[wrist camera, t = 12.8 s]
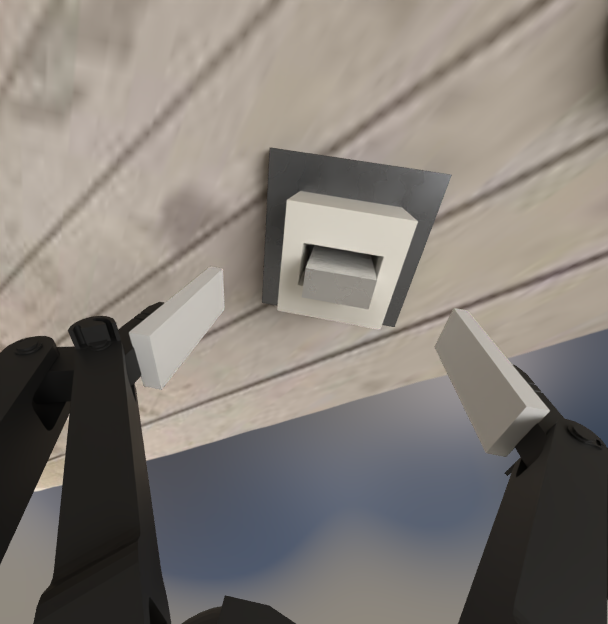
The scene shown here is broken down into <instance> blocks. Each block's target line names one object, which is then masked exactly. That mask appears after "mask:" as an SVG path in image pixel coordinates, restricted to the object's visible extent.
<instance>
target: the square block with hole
mask: <svg viewBox="0 0 608 624" xmlns="http://www.w3.org/2000/svg"><path fill="white" fill-rule="evenodd" d="M417 223H418V221H417V220H416V219H415V218H414V217H412V216H411V215H410V214H409V213H408V212H407V211H406V210H404V209H403V208H402V207H397V206H390V205H384V204H378V203H372V202H366V201H360V200H353V199H347V198H341V197H335V196H329V195H322V194H316V193H310V192H304V191H299V192H298V193H296V194H295V195H293V196H292V197H290V198H289V199H287V205H286V216H285V227H284V239H283V250H282V261H281V272H280V283H279V295H278V306H277V311H282V312H288V313H293V314H298V315H303V316H309V317H314V318H319V319H325V320H330V321H335V322H341V323H346V324H351V325H357V326H362V327H367V328H373V329H378V330H380V329H381V326H382V324H383V321H384V318H385V315H386V312H387V309H388V306H389V303H390V301H391V298H392V295H393V292H394V289H395V286H396V283H397V281H398V278H399V275H400V272H401V269H402V266H403V263H404V260H405V258H406V255H407V252H408V249H409V246H410V243H411V240H412V237H413V235H414V232H415V229H416V226H417ZM310 244H313V245H319V246H325V247H331V248H336V249H342V250H348V251H354V252H360V253H365V254H371V258H372V262H373V266H374V270H375V274H376V278H377V283H376V286H375V290H374V293H373V296H372V300H371V303H370V306H369V309H363V308H358V307H352V306H347V305H341V304H336V303H330V302H325V301H319V300H314V299H308V298H303V297H302V291H303V284H304V277H305V270H306V266H307V263H308V261H307V259H308V252H309V246H310Z"/></svg>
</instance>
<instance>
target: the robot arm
mask: <svg viewBox="0 0 608 624" xmlns="http://www.w3.org/2000/svg"><path fill="white" fill-rule="evenodd" d="M224 309H225V307H224V282H223V268H217V267H212V266H210V267H209V268H207V269H206V270H205V271H204V272H202V273H201V274H200V275H199V276H197V277H196V278H195V279H194V280H193V281H191V282H190V283H189V284H188V285H186V286H185V287H184V288H183V289H181V290H180V291H179V292H178V293H177V294H175V295H174V296H173V297H172V298H170V299H169V300H168V301H167V302H165V303H163V302H158V303H156V304H153V305H151V306H149V307H147V308H146V309H145V310H143V311H142V312H141V314H138V315H137V316H135V317H134V319H131V320H130V321H129V322H128V323H126V324H125V325H124V326H122V327H121V328H120V329H118V328H117V325H116V322H115V320H114V319H113V318H110V317H107V316H95V317H89V318H85V319H82V320H80V321H78V322H76V323H74V324H73V325H72V326H70V328H69V330H68V332H69V335H70V337H71V339H72V341H73V344H74V346H75V347H57V346H56V344H55V342H54V340H53V339H52V338H50V337H47V336H35V337H28V338H24V339H21V340H18V341H17V342H15V343H12V344H10V345H9V346H7V347H6V348H5V349H4V350H3V351H2V352H1V353H0V564H1V561H2V559H3V557H4V555H5V553H6V551H7V548H8V546H9V544H10V541H11V540H12V537H13V535H14V533H15V531H16V529H17V527H18V525H19V522H20V520H21V518H22V516H23V514H24V511H25V509H26V507H27V505H28V503H29V500H30V498H31V496H32V494H33V492H34V490H35V487H36V485H37V483H38V481H39V479H40V477H41V474H42V472H43V470H44V468H45V466H46V463H47V461H48V459H49V457H50V455H51V453H52V450H53V448H54V446H55V444H56V442H57V439H58V437H59V435H60V433H61V431H62V429H63V426H64V424H65V422H66V420H67V418H68V416H69V425H68V435H67V445H66V455H65V465H64V475H63V485H62V495H61V506H60V516H59V526H58V537H57V546H56V556H55V566H54V573H53V579H52V581H51V584H50V586H49V587H48V588H47V589H46V590H45V591H44V593H43V594H42V595H41V597H40V600H39V603H38V605H37V609H36V613H35V618H34V623H33V624H171V619H170V612H169V606H168V600H167V595H166V590H165V587H164V582H163V578H162V572H161V566H160V558H159V552H158V545H157V537H156V530H155V523H154V515H153V509H152V502H151V494H150V487H149V480H148V472H147V465H146V458H145V451H144V443H143V436H142V429H141V422H140V415H139V408H138V400H137V393H136V387H135V384H134V383H135V382H136V381H137V380H138V379H139V378H140V376H141V378H142V382H143V385H144V386H145V387H151V388H156V389H161V390H162V389H163V387H164V386H165V385H166V383H167V382H168V381H169V380H170V378H171V377H172V376H173V375H174V373H175V372H176V371H177V369H178V368H179V367H180V366H181V364H182V363H183V362H184V360H185V359H186V358H187V357H188V355H189V354H190V353H191V352H192V350H193V349H194V348H195V346H196V345H197V344H198V343H199V341H200V340H201V339H202V338H203V336H204V335H205V334H206V332H207V331H208V330H209V329H210V327H211V326H212V325H213V323H214V322H215V321H216V320H217V318H218V317H219V316H220V315H221V313H222V312H223V311H224ZM435 349H436V351H437V353H438V355H439V357H440V359H441V362H442V364H443V366H444V368H445V370H446V372H447V374H448V376H449V378H450V380H451V382H452V384H453V386H454V388H455V390H456V392H457V394H458V396H459V399H460V400H461V403H462V405H463V407H464V409H465V411H466V413H467V415H468V417H469V419H470V421H471V423H472V425H473V427H474V429H475V431H476V433H477V436H478V438H479V439H480V442H481V444H482V446H483V448H484V450H485V452H486V453H488V454H493V455H498V456H504V457H506V456H507V455H508V454H509V453H510V452H511V451H512V450H513V449H514V448H516V450H517V452H518V453H519V455H520V457H521V458H519V459H518V460H517V461H516V462H515V463H514V464H513V465H512V466H511V467H510V468H509V469H508V470H507V471H506V472H505V474H506V475H507V476H508V475H509V474H510V473H511V476H510V479H509V482H508V485H507V487H506V490H505V493H504V496H503V499H502V501H501V504H500V507H499V510H498V513H497V516H496V518H495V521H494V524H493V527H492V530H491V532H490V536H489V538H488V541H487V544H486V546H485V549H484V552H483V555H482V558H481V561H480V563H479V566H478V569H477V572H476V575H475V577H474V580H473V583H472V586H471V589H470V592H469V594H468V597H467V600H466V603H465V606H464V608H463V611H462V614H461V617H460V620H459V623H458V624H607V599H608V448H607V447H606V445H605V444H604V443H603V441H602V440H601V439H600V438H599V437H598V436H597V435H595V434H594V433H593V432H592V431H591V430H589V429H587V428H586V427H584V426H583V425H581V424H579V423H577V422H574V421H571V420H567V419H564V418H563V416H562V415H561V414H560V413H559V412H558V411H557V409H556V408H555V407H554V406H553V405H552V403H551V402H550V401H549V400H548V399H547V398H546V396H545V395H544V394H543V393H541V390H540V389H539V388H538V387H537V386H536V385H534V382H533V381H532V380H531V379H530V378H529V376H528V375H527V374H526V373H524V372H523V371H522V370H521V369H519V368H518V367H517V366H515V365H512V364H511V363H510V361H509V360H508V359H507V358H506V356H505V355H504V354H503V353H502V352H501V350H500V349H499V348H498V347H497V346H496V344H495V343H494V342H493V341H492V339H491V338H490V337H489V336H488V335H487V333H486V332H485V331H484V330H483V328H482V327H481V326H480V325H479V324H478V322H477V321H476V320H475V319H474V317H473V316H472V315H471V314H470V313H469V311H467V310H461V309H456V308H454V309H453V311H452V313H451V315H450V317H449V319H448V321H447V323H446V325H445V327H444V329H443V331H442V333H441V335H440V337H439V339H438V341H437V343H436V345H435ZM69 413H70V415H69ZM182 624H296V623H294V622H292V621H291V620H290V619H288V618H287V617H285V616H284V615H282V614H281V613H279V612H278V611H276V610H275V609H273V608H272V607H271V606H268V605H264V604H260V603H256V602H251V601H247V600H243V599H238V598H234V597H230V596H225V598H224V601H223V605H222V606H221V607H216V608H212V609H209V610H206V611H203V612H201V613H199V614H197V615H195V616H193V617H191V618H189V619H188V620H186V621H185V622H183V623H182Z"/></svg>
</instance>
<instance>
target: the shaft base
mask: <svg viewBox="0 0 608 624" xmlns="http://www.w3.org/2000/svg"><path fill="white" fill-rule="evenodd" d="M451 176H452V175H450V174H444V173H437V172H430V171H424V170H417V169H410V168H404V167H397V166H390V165H384V164H377V163H370V162H364V161H357V160H350V159H344V158H337V157H330V156H323V155H317V154H310V153H303V152H297V151H290V150H283V149H277V148H270V154H269V174H268V194H267V214H266V235H265V255H264V275H263V295H262V303H267V304H272V305H277V306H278V295H279V283H280V272H281V261H282V250H283V239H284V227H285V216H286V205H287V199H289V198H290V197H292V196H293V195H295V194H296V193H298V192H299V191H304V192H310V193H316V194H322V195H329V196H335V197H341V198H347V199H353V200H360V201H366V202H372V203H378V204H384V205H390V206H397V207H402V208H403V209H404V210H406V211H407V212H408V213H409V214H410V215H411V216H412V217H414V218H415V219H416V220H417V221H418V223H417V226H416V229H415V232H414V235H413V237H412V240H411V243H410V246H409V249H408V252H407V255H406V258H405V260H404V263H403V266H402V269H401V272H400V275H399V278H398V281H397V283H396V286H395V289H394V292H393V295H392V298H391V301H390V303H389V306H388V309H387V312H386V315H385V318H384V321H383V324H382V325H386V326H391V327H395V324H396V321H397V319H398V316H399V314H400V311H401V308H402V306H403V303H404V300H405V298H406V295H407V292H408V290H409V287H410V284H411V282H412V279H413V276H414V274H415V271H416V268H417V266H418V263H419V260H420V258H421V255H422V252H423V250H424V247H425V245H426V242H427V239H428V237H429V234H430V231H431V229H432V226H433V223H434V221H435V218H436V215H437V213H438V210H439V207H440V205H441V202H442V199H443V197H444V194H445V191H446V189H447V186H448V184H449V181H450V178H451ZM307 261H308V263H307V266H306V270H305V277H304V284H303V291H302V297H303V298H308V299H314V300H319V301H325V302H330V303H336V304H341V305H347V306H352V307H358V308H363V309H369V306H370V303H371V300H372V296H373V293H374V290H375V286H376V283H377V278H376V274H375V270H374V266H373V262H372V258H371V254H365V253H360V252H354V251H348V250H342V249H336V248H331V247H325V246H319V245H313V244H310V246H309V252H308V259H307Z"/></svg>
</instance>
